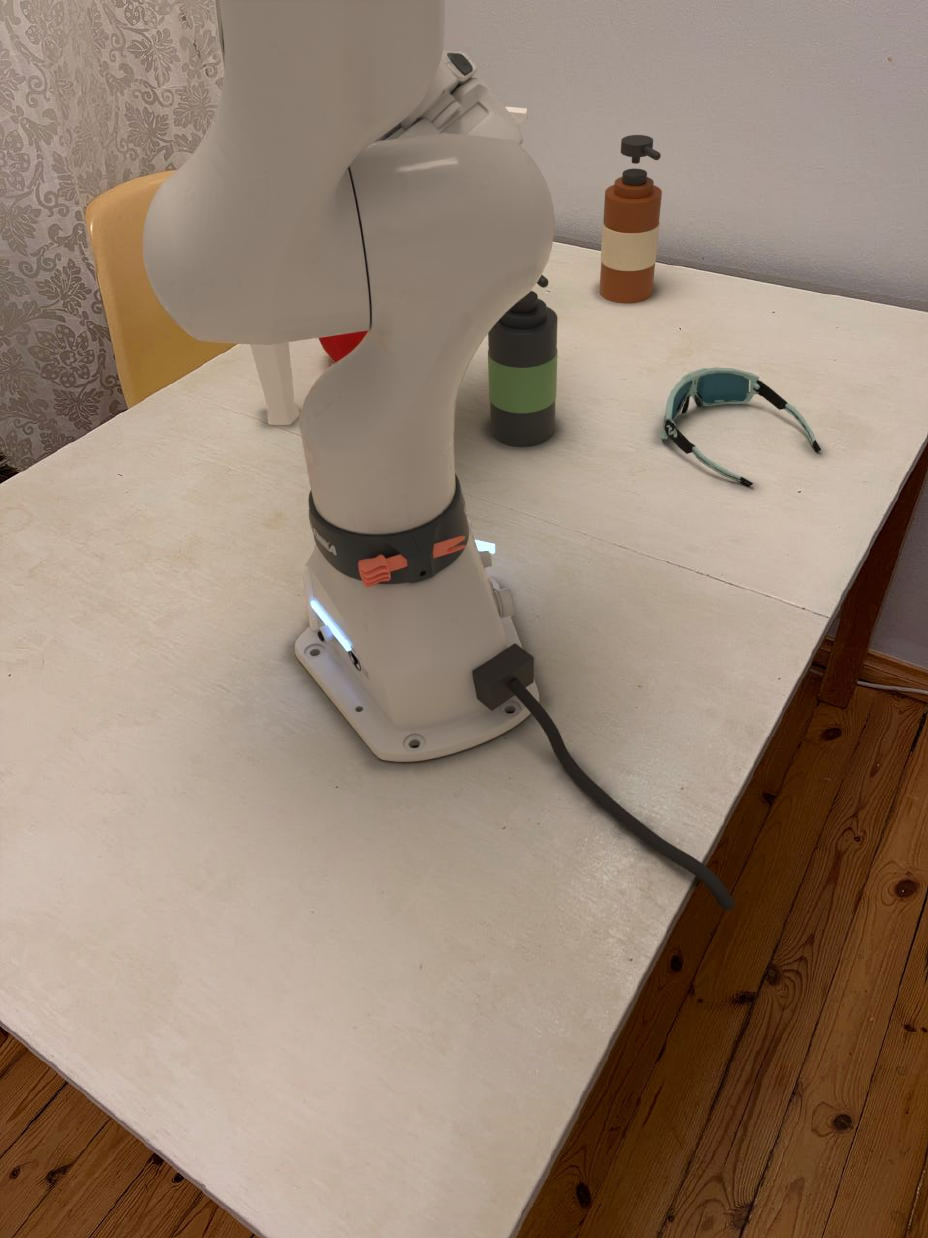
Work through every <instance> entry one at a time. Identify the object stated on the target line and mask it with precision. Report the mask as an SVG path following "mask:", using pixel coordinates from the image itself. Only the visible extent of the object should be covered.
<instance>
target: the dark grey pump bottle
mask: <svg viewBox="0 0 928 1238" xmlns="http://www.w3.org/2000/svg"><path fill="white" fill-rule="evenodd" d="M538 297H539V295H538V294H537V292H535V291H532V290H531V291H530V292H529V293H528V294H527V295H526V296H524V297H523V298H522V299H521V300H519V301H518V302H517V303H516V304H515V305H514V306H512V307H511V308H510V309H509V310H508V311H507V312H506V313H505V314H504V315H503V316H502V317H501V318H500V319H499V320H498V321H497V323H496V324H495V325H494V326H493V327H492V329H491V330H490V331H489V333H488V334H487V343H488V344H487V345H488V346H487V347H488V349H487V371H488V372H487V374H488V399H489V416H490V417H489V419H490V434H491V435H492V437H493V438H494V439H495V440H496V441H498V442H499V443H501V444H503V445H506V446H511V447H515V448H528V447H535V446H539V445H541V444H543V443H545V442H547V441H548V440H550V439H551V438H552V437H553V436H554V433H555V431H556V399H557V385H558V314H557V313H556V311H554V310H553V309H552V308H550V307H549V306H547V303H546V302H545V301H544V300H542V299H540V298H538Z"/></svg>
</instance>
